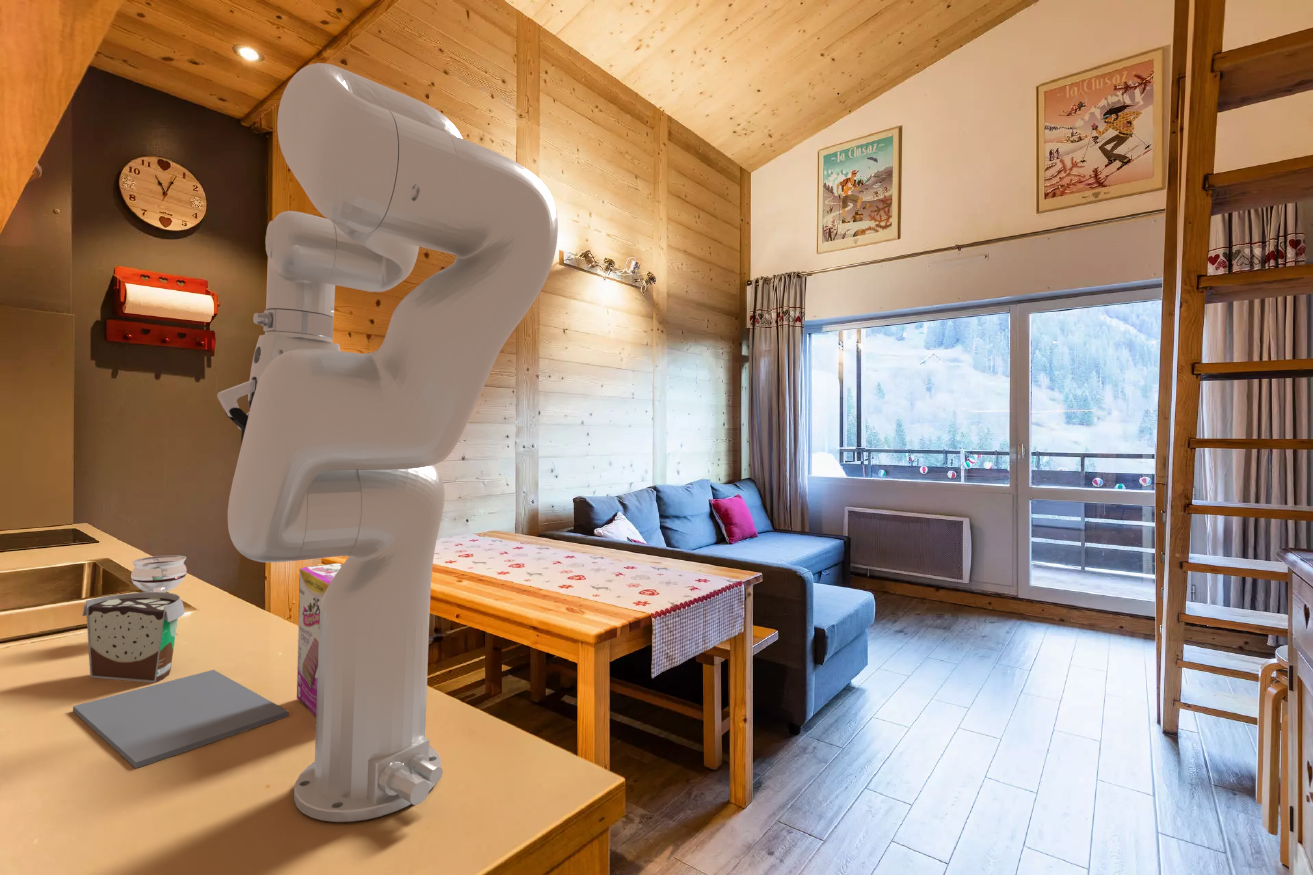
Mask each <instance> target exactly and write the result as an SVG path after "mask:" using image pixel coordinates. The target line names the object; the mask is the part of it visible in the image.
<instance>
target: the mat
mask: <svg viewBox="0 0 1313 875" xmlns="http://www.w3.org/2000/svg"><path fill="white" fill-rule="evenodd" d="M72 712H73V713H74V714H76V716H77V717H79V718H80V719H81V720H82V721H83V722H84V723H85V724H86V725H88V727H89V728H91V729H92V730H93V731H94V733H96V734H97V735H98V736H99V737H101V739H103V740H104V741H105V742H106V743H107V744H108V745H109V746H111V747H112V748H113V749H114V750H115V751H116V752H117V753H118V754H119V755H121V757H123V758H124V759H125V760H126V761H127V762H128V763H129V764H130V765H131V766H132V767H133V768H135V769H138V768H141V767H144V766H147V765H151V764H153V763H155V762H159V761H162V760H165V759H168V758H171V757H173V756H176V755H179V754H182V753H185V752H187V751H191V750H194V749H197V748H200V747H202V746H205V745H208V744H211V743H214V742H217V741H219V740H223V739H226V738H229V737H231V736H235V735H238V734H240V733H243V732H246V731H249V730H252V729H255V728H257V727H260V726H263V725H267V724H270V723H273V722H276V721H278V720H281V719H284V718H287V717H289V710H287V709H285V708H283V707H282V706H280V705H278V704H276V703H275V702H272V701H271V700H269V699H267V698H266V697H264V696H261V695H260V694H258V693H257V692H255V691H253V690H252V689H249V688H248V687H245V686H244V685H242V684H240V683H238V682H237V681H235V680H233V679H231V678H230V677H228V676H227V675H224V674H222V673H221V672H219V671H217V670H215V669H211V670H207V671H204V672H203V671H202V672H199V673H196V674H192V675H188V676H184V677H180V678H176V679H173V680H169V681H164V682H161V683H157V684H156V683H155V684H152V685H149V686H145V687H142V688H138V689H133V690H130V691H126V692H122V693H119V694H114V695H110V696H107V697H102V698H99V699H95V700H91V701H88V702H84V703H83V702H82V703H80V704H76V705H73V706H72Z"/></svg>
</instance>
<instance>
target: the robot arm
mask: <svg viewBox="0 0 1313 875" xmlns="http://www.w3.org/2000/svg"><path fill="white" fill-rule="evenodd" d="M277 111H278V113H277V120H276V121H277V122H276V123H277V124H276V126H277V127H276V128H277V131H276V132H277V138H278V144H279V147H280V152H281V153H282V156H283V157H284V160H285V163H286V164H287V166H288V168H289V169H290V171H291V172H292V174H293V176H294V177H295V179H296V180H297V181H298V184H300V186H301V188H302V189H303V191H304V192H305V194H306V195H307V197H308V199H309V200H310V202H311V203H312V205H313V206H314V207H315V209H316V210H317V211H318V212H319V213H320V214H321V215H322V216H321V217H320V216H317V215H314V214H310V213H305V212H301V211H295V210H294V211H293V210H286V211H282V212H280V213H278V214H277V215H276V216H275V217H274V219H273V220H270V221H269V223H268V225H267V227H266V233H265V252H266V255H267V273H266V274H267V277H266V300H265V309H264V311H263V312H261V313H259V312H255V313H254V314H253V319H252V321H253V323H254V324H256V325H260V326H261V327H263V328H262V331H263V332H264V334H260V335H259V336H258V339H257V342H256V346H255V349H254V353H253V358H252V361H251V362H252V363H251V367H250V375H249V380H248V381H245V382H242V383H241V384H237V385H234V386H232V387H229V388H227V389H224V390H221V391H218V393H217V394H216V397H217V399H218V401H219V403H220V405H221V406H222V408H223V410H224V412H225V416H226V417H228V418H229V420H231V421H232V422H233V423H234V424H235V425H236V426H237V428H238V429H239V430H240V431H241V438H240V439H241V440H240V441H241V442H240V450H239V455H238V458H237V462H236V467H235V470H234V474H233V475H234V476H233V479H232V483H231V488H230V493H229V498H228V504H227V505H228V506H227V527H228V533H229V537H230V540H231V542H232V544H233V546H234V547H235V549H236V550H237V551H238V552H239V554H241V555H242V556H244V557H245V558H247V559H249V560H252V561H255V562H258V563H284V562H285V563H286V562H296V561H298V562H299V561H305V560H317V559H324V558H325V559H326V558H334V557H347V559H345V561H344V563H343V564H342V567H341V568H340V569H339V571H338V572H337V573H336V575H335V576H334V578H333V579H332V581H331V582H330V584H329V586H328V588H327V589H326V592H325V594H324V597H323V599H322V604H321V609H320V625H319V651H318V681H317V710H316V716H315V746H314V762H312V763H311V764H309V765H308V766H307V767H306V768H305V769H304V770H303V771H302V772H301V773H300V774H299V776H298V777H297V779H296V781H295V784H294V788H293V790H294V792H293V793H294V794H293V797H294V798H293V801H294V804H295V806H296V808H297V809H298V810H299V811H300V812H301V813H302V814H304V815H306V816H307V817H310V818H313V819H316V820H320V821H324V822H331V823H346V822H347V823H350V822H359V821H360V822H361V821H367V820H371V819H376V818H380V817H383V816H385V815H386V816H387V815H390V814H392V813H395V812H397V811H399V810H402V809H404V808H406V807H409V806H410V805H414V806H417V805H420V804H422V803H424V801H425V800H426V798H427V797H428V795H429V793H430V791H431V790H432V788H434V786H436V784H437V783H438V782H439V781H440V779H441V778H442V777H443V773H444V772H443V768H442V767H441V766H442V765H441V764H442V759H441V756H440V754H439V752H437V750H436V749H435V748H434V747H432V746H430V744H431V743H430V738H428V737H427V736H426V729H427V728H426V726H427V724H426V723H427V722H426V721H427V720H426V719H427V698H428V696H427V695H428V663H429V641H430V639H429V638H430V637H429V636H430V635H429V634H430V633H429V632H430V614H431V613H430V612H431V610H430V607H431V589H432V575H433V567H434V566H433V563H434V557H435V550H436V546H437V545H436V544H437V540H438V537H439V536H438V535H439V531H440V526H441V522H442V517H443V514H444V506H445V486H444V481H443V479H442V475H441V474H440V472H439V470H438V469H437V468H436V466H435V465H437V464H440V463H441V462H444V461H445V460H446V459H447V458H448V457H449V456H450V454H451V453H452V452H453V450H455V447H456V446H457V444H458V443H459V441H460V439H461V437H462V435H463V434H464V433H463V432H464V430H465V429H466V426H467V424H468V422H469V420H470V419H471V418H470V417H471V415H472V413H473V411H474V409H475V407H476V405H477V403H478V401H479V398H480V396H481V394H482V392H483V390H484V387H485V385H486V382H487V381H488V378H489V376H490V374H491V371H492V369H493V368H494V367H493V366H494V364H495V362H496V360H497V358H498V356H499V354H500V352H501V350H502V348H503V347H504V345H505V344H506V342H507V341H508V339H509V338H510V336H511V334H512V333H513V332H514V331H515V329H516V328H517V326H518V325H519V324H520V323H521V321H522V320H523V318H524V317H525V316H526V315H527V313H528V311H529V310H530V308H531V307H532V306H533V304H534V303H535V301H536V300H537V298H538V297H539V295H540V293H541V291H542V289H543V287H544V285H545V283H546V281H547V279H548V276H549V275H550V272H551V268H552V265H553V263H554V258H555V256H556V251H557V250H556V249H557V245H558V244H557V243H558V230H559V227H558V226H559V223H558V211H557V208H556V204H555V201H554V198H553V196H552V194H551V192H550V190H549V189H548V187H547V186H546V184H544V182H543V181H542V179H540V178H539V177H538V176H537V175H536V174H535V173H533V171H530V170H529V169H528V168H526V167H525V166H524V165H522V164H520V163H518V162H516V161H515V160H513V159H512V158H509V157H507V156H505V155H503V154H501V153H499V152H497V151H495V150H492V149H490V148H488V147H486V146H482V145H479V144H477V143H474V142H472V141H470V140H467V139H465V138H463V137H462V135H461V133H460V131H459V130H458V128H457V127H456V126H455V124H454V123H453V122H452V121H451V120H450V119H449V118H448V117H447V116H446V115H444V114H443V113H442V112H440V111H439V110H437V109H436V108H435V107H432V106H430V105H428V104H427V103H425V102H423V101H421V100H419V99H416V98H414V97H412V96H409V95H407V94H404V93H402V92H400V91H397V90H395V89H392V88H390V87H388V86H385V85H383V84H382V83H378V82H376V81H374V80H371V79H369V78H366V77H364V76H361V75H359V74H356V73H354V72H352V71H349V70H347V69H344V68H342V67H339V66H337V65H334V64H330V63H325V62H323V63H322V62H321V63H320V62H316V63H312V64H308V65H306V66H304V67H302V68H300V69H299V71H298V72H296V73H295V74H294V75H293V76H292V78H291V79H290V80H289V82H287V86H286V87H285V89H284V90H283V93H282V96H281V98H280V103H279V107H278V110H277ZM420 248H424V249H428V250H432V251H437V252H442V253H445V254H450V255H453V256H455V259H454V262H452V264H451V265H449V266H447V267H445V268H444V269H441V270H440V271H438V272H436V273H434V274H433V275H430V276H429V277H428V278H425V279H424V280H423V281H422V282H421V283H420V284H418V285H417V286H415V288H414V289H412V290H411V291H410V292H409V293H408V294H406V295H405V296H404V297H403V298H402V300H401V301H400V302H399V303H398V304H397V306H396V307H395V309H394V310H393V312H392V315H391V319H390V321H389V324H388V328H387V330H386V333H385V336H384V339H383V340H382V344H380V347H379V348H378V349H376V350H375V351H372V352H367V353H360V352H359V353H358V352H351V351H342V350H341V347H340V344H339V343H336V342H335V343H334V342H333V339H334V322H335V319H334V318H335V297H336V294H335V293H336V287H342V288H349V289H354V290H358V291H359V290H360V291H364V292H368V293H381V292H386V291H389V290H391V289H393V288H395V287H396V286H398V285H399V284H400V283H401V282H403V281H404V280H406V279H407V278H408V277H409V276H410V274H411V273H412V271H413V270H414V267H415V264H416V263H417V259H418V254H419V251H420ZM246 395H247V396H248V397H247V402H248V403H247V404H248V408H249V411H248V412H247V413H246V412H244V411H243V409H241V408H240V406H239V403H238V399H240V398H241V397H244V396H246Z"/></svg>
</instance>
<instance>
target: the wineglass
mask: <svg viewBox="0 0 1313 875" xmlns="http://www.w3.org/2000/svg"><path fill="white" fill-rule="evenodd" d="M186 560H187V556H186V555H185V556H184V555H154V556H147V557H142V558H137V559H134V560H132V561H131V563H132V565H133V567H134V568H133V569H132V570H131V575H130V578H131V582H132V584H133V585H134V586H136V587H137V588H138V589H139V590H141V591H142V592H165V593H168V591H170V590H174V589H175V588H177V587H178V586H179V585H180V584H181V583H182V582H183V581H184V579H185V578H186V576H187V571H188V570H187V565H185V563H184V562H185V561H186ZM176 634H177V635H178V632H177V633H176Z"/></svg>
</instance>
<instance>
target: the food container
mask: <svg viewBox="0 0 1313 875" xmlns="http://www.w3.org/2000/svg"><path fill="white" fill-rule="evenodd" d="M185 612H186V611H185V607H184V602H183V601H182V599H181V596H180V595H178V594H176V593H172V592H166V593H165V592H145V591H142V592H132V593H131V592H129V593H128V592H127V593H121V594H113V595H106V596H101V597H97V598H96V597H95V598H91V599H87V600H85V604H84V606H83V609H82V613H81V614H82V615H81V616H82V617H84V616H86V627H87V644H88V646H87V647H88V660H89V661H88V663H89V664H88V665H89V674H90V675H89V678H90V679H91V678H93V679H102V680H103V679H104V680H117V681H129V682H130V681H131V682H141V683H154V684H156V683H157V684H158V683H159V682H160V681H162V680H164V679H166V678H167V677H168V676H169V675H170V673H171V671H172V670H171V669H172V662H173V655H174V649H175V641H176V636H177V635H176V632H177V626H178V621H179V620H178V619H179V618H181V617H183V615H184V614H185ZM175 635H176V636H175Z"/></svg>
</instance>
